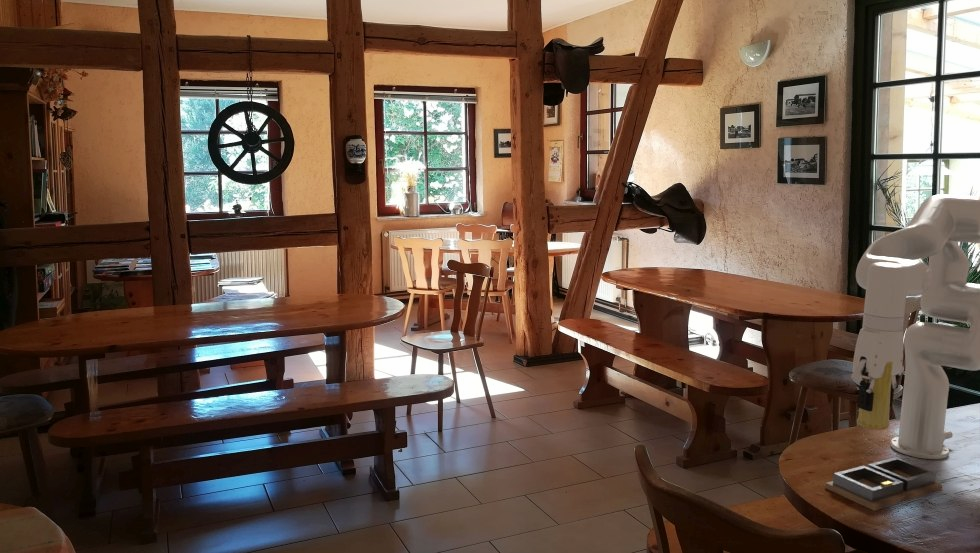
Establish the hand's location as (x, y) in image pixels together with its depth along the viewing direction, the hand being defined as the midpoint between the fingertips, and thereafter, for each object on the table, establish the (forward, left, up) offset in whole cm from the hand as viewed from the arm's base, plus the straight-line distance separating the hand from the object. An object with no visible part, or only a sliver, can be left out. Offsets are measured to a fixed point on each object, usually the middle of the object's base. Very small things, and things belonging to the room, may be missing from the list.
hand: (874, 406), depth 169 cm
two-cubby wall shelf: (-5, 0, -18) cm, 19 cm away
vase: (0, 0, -4) cm, 4 cm away
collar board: (-5, 0, -19) cm, 20 cm away
